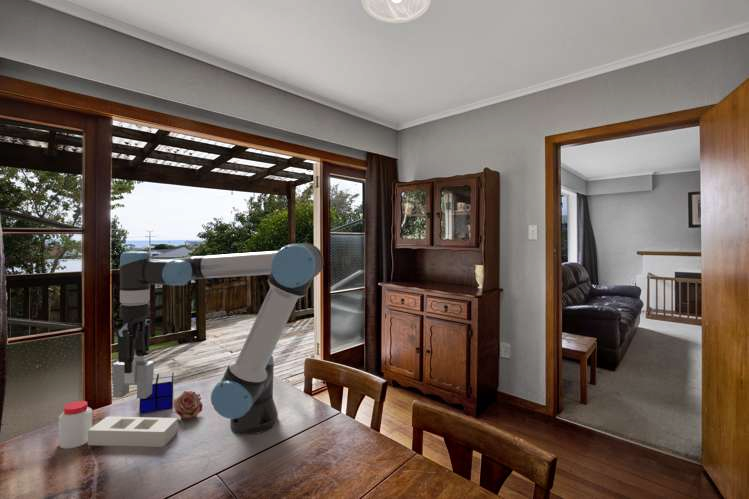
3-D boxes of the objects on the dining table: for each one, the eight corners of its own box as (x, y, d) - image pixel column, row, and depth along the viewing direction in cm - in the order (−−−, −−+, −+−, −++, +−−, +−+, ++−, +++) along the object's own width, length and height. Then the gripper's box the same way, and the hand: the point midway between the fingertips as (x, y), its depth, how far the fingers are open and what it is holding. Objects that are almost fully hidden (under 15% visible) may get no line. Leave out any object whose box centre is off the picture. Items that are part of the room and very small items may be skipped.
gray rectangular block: (152, 393, 113) (153, 361, 112) (146, 398, 109) (146, 365, 109) (119, 392, 113) (120, 360, 112) (112, 397, 109) (112, 364, 109)
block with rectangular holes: (177, 431, 116) (177, 418, 116) (163, 446, 108) (163, 431, 108) (107, 430, 116) (107, 416, 115) (87, 445, 108) (87, 430, 107)
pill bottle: (73, 450, 105) (73, 413, 104) (51, 446, 106) (51, 409, 106) (98, 435, 112) (98, 400, 112) (78, 432, 114) (78, 397, 113)
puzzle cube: (139, 414, 126) (139, 386, 125) (142, 402, 135) (142, 375, 134) (172, 409, 131) (172, 381, 130) (173, 397, 139) (173, 371, 139)
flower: (163, 413, 124) (169, 399, 120) (185, 397, 132) (192, 383, 129) (182, 433, 122) (189, 419, 119) (204, 415, 130) (211, 402, 127)
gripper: (139, 297, 118) (138, 369, 119) (102, 308, 101) (102, 391, 102) (162, 298, 118) (162, 369, 119) (129, 309, 101) (129, 392, 103)
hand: (134, 379), depth 111 cm, fingers closed on gray rectangular block, 3 cm apart
